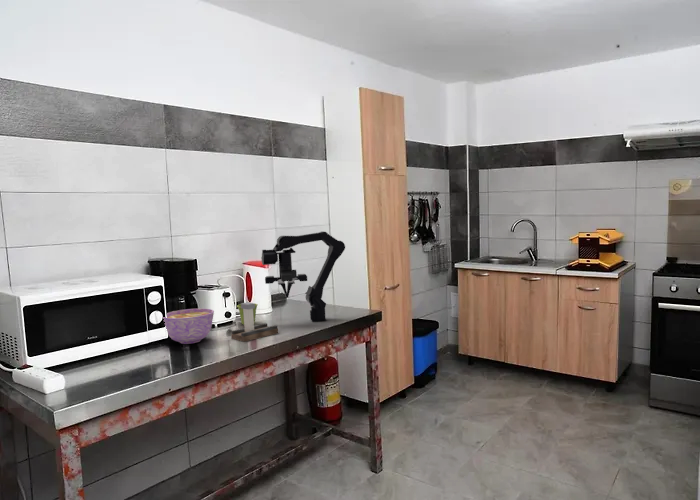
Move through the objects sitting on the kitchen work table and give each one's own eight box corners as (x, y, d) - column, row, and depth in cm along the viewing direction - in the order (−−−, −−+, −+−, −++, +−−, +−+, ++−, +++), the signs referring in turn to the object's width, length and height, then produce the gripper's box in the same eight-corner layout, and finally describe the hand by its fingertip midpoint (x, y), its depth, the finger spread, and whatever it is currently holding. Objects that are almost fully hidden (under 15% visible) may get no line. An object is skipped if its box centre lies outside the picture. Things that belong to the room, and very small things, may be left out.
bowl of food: (165, 338, 212) (163, 311, 211) (214, 333, 218) (212, 306, 217) (162, 350, 193) (160, 320, 192) (217, 344, 199) (215, 315, 198)
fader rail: (265, 330, 219) (264, 323, 219) (278, 333, 213) (277, 325, 212) (231, 338, 207) (231, 330, 206) (244, 341, 200) (243, 333, 200)
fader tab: (249, 330, 210) (247, 302, 210) (256, 331, 207) (254, 303, 206) (242, 331, 208) (240, 303, 207) (249, 333, 205) (248, 304, 204)
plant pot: (261, 321, 239) (260, 302, 238) (255, 325, 230) (254, 306, 229) (241, 321, 240) (240, 303, 239) (235, 326, 231) (234, 307, 230)
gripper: (264, 266, 219) (266, 302, 220) (307, 263, 222) (309, 298, 223) (264, 264, 230) (266, 298, 231) (305, 261, 233) (306, 295, 234)
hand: (287, 297), depth 230 cm, fingers closed
